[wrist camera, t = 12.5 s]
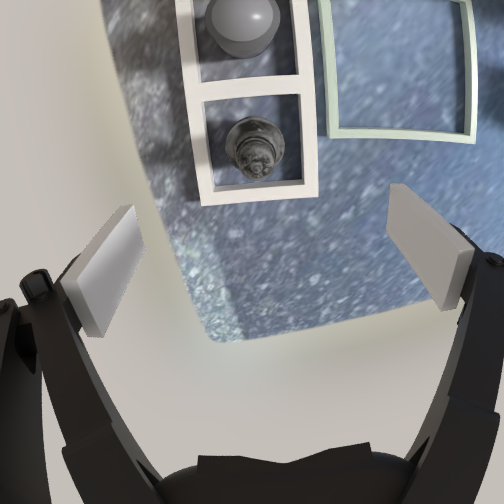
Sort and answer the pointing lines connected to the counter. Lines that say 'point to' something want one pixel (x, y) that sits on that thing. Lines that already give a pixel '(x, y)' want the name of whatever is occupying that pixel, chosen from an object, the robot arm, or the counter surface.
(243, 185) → the double square frame
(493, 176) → the counter surface
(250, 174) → the grey chess piece
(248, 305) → the counter surface
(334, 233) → the counter surface
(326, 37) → the pale green square frame
